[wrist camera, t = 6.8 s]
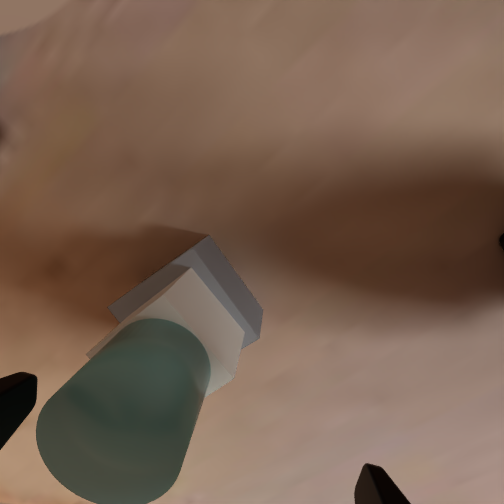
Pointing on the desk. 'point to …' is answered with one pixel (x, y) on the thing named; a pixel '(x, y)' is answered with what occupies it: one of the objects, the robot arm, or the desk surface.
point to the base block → (215, 278)
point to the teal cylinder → (127, 415)
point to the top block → (194, 324)
